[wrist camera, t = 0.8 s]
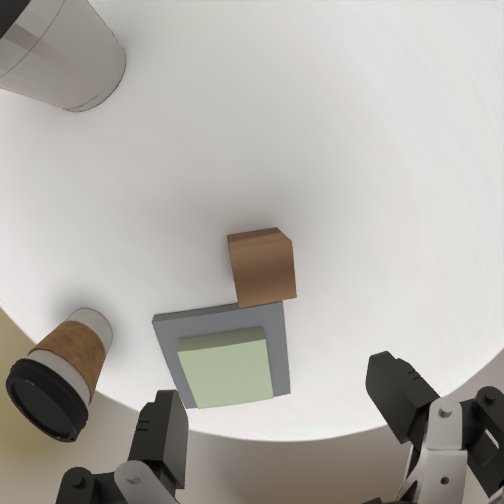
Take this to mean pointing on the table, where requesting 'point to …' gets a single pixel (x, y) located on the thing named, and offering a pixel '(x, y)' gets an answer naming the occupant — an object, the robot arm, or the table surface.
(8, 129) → the table surface
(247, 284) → the walnut block
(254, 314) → the stack base
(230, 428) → the table surface
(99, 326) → the coffee cup
